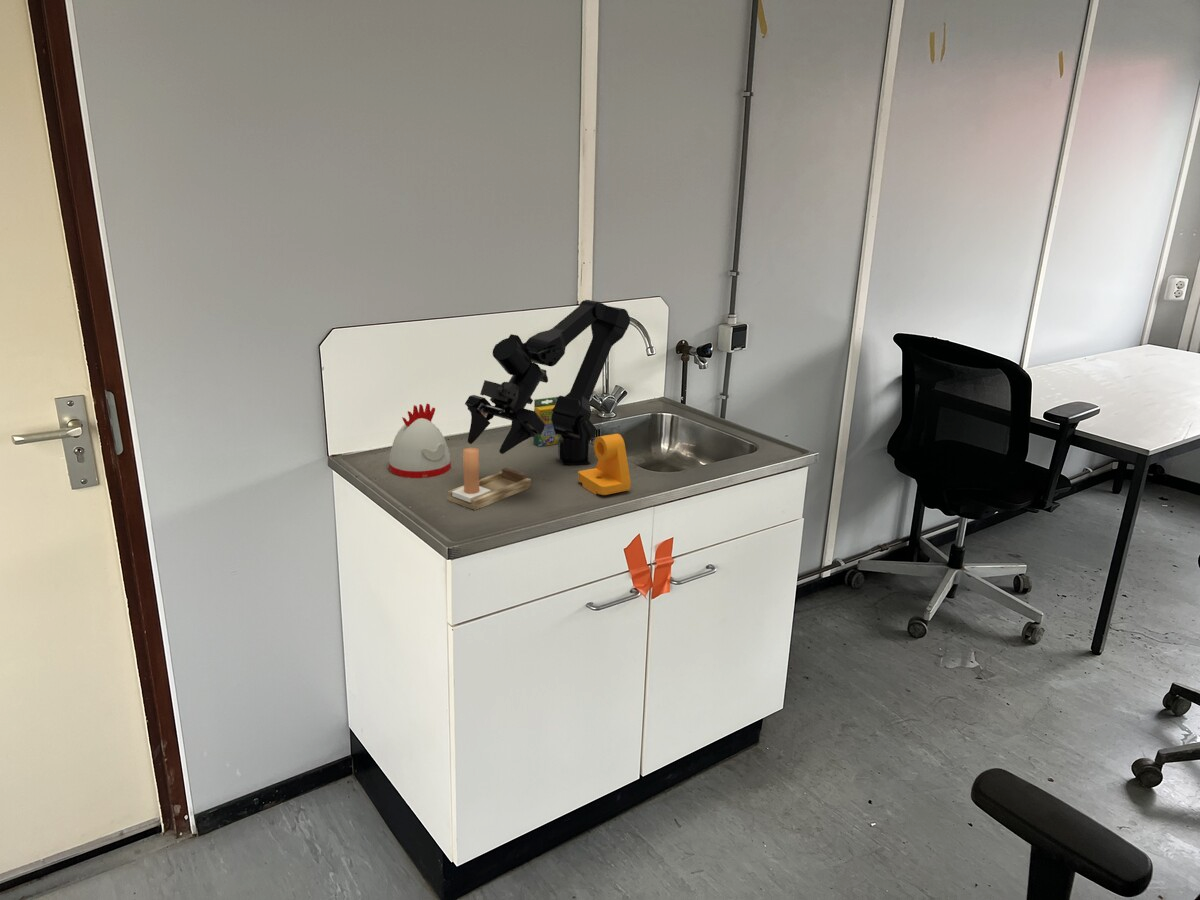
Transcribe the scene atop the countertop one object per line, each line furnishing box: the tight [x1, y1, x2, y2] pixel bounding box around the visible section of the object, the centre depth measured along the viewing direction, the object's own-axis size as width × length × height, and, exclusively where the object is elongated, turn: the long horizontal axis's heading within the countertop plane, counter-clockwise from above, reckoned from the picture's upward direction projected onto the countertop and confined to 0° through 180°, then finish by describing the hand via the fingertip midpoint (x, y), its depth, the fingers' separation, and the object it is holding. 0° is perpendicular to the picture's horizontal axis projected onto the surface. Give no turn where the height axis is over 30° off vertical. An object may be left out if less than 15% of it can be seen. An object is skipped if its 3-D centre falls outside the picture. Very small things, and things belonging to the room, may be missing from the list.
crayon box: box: [532, 396, 561, 448], centre depth 220 cm, size 7×3×12 cm, turn 121°
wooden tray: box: [447, 467, 532, 511], centre depth 189 cm, size 17×8×3 cm, turn 143°
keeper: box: [452, 447, 491, 503], centre depth 183 cm, size 6×5×10 cm
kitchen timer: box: [388, 402, 452, 479], centre depth 201 cm, size 14×14×15 cm
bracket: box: [577, 433, 632, 496], centre depth 193 cm, size 11×7×12 cm, turn 32°
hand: (484, 447), depth 184 cm, fingers open, 9 cm apart
